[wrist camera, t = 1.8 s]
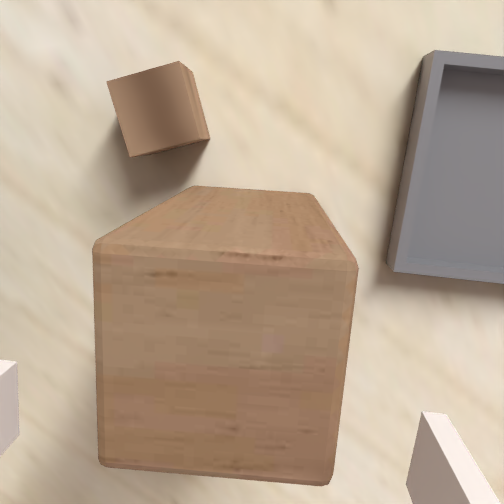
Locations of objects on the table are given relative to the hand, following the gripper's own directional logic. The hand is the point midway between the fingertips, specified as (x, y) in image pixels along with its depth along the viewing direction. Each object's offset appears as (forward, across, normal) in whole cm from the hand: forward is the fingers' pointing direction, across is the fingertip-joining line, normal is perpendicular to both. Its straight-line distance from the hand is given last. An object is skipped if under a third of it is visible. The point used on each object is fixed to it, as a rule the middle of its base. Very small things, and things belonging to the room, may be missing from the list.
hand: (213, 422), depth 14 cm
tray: (+23, +19, +8) cm, 31 cm away
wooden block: (+23, 0, 0) cm, 23 cm away
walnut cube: (+23, -7, +10) cm, 26 cm away
